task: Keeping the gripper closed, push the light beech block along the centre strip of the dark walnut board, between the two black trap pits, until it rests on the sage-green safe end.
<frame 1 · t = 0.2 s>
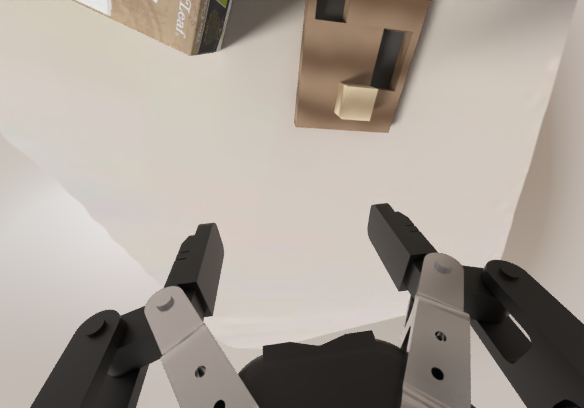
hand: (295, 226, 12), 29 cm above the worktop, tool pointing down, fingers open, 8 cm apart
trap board: (359, 22, 31), on the worktop
block: (350, 98, 34), point 2 cm above the worktop, touching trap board
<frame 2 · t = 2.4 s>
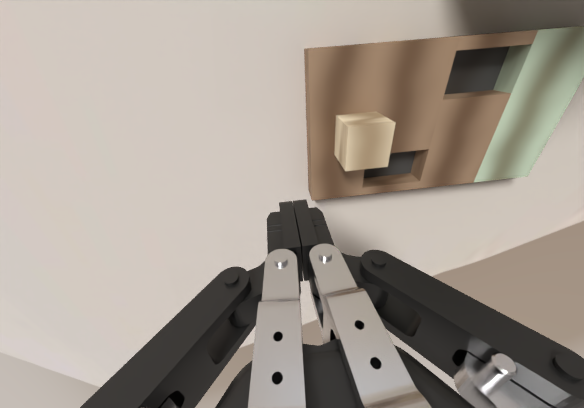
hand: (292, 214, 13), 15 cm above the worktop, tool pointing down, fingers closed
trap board: (426, 119, 26), on the worktop
block: (354, 134, 24), point 2 cm above the worktop, touching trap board
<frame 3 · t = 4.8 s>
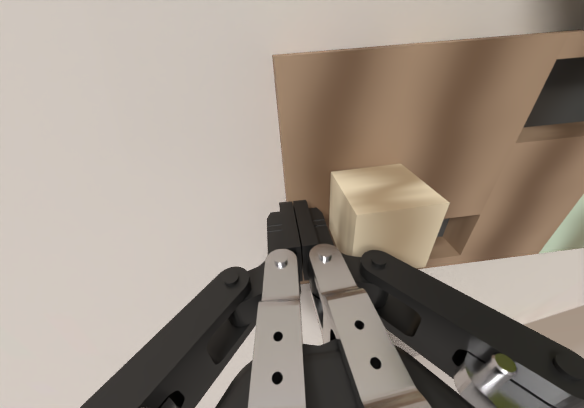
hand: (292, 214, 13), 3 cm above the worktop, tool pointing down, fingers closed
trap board: (473, 164, 17), on the worktop
block: (362, 197, 14), point 3 cm above the worktop, touching gripper, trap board
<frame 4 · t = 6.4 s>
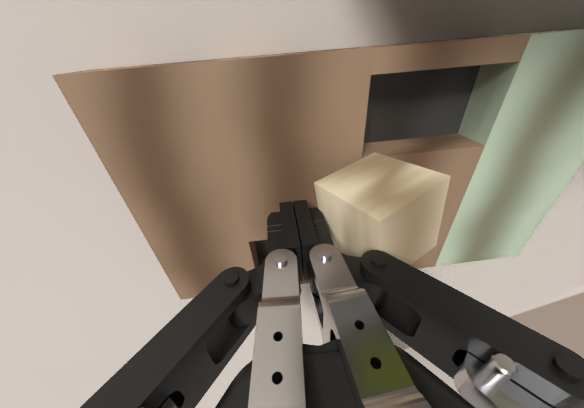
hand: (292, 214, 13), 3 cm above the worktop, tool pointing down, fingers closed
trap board: (352, 177, 16), on the worktop
block: (348, 198, 13), point 3 cm above the worktop, tilted 25°, touching gripper, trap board
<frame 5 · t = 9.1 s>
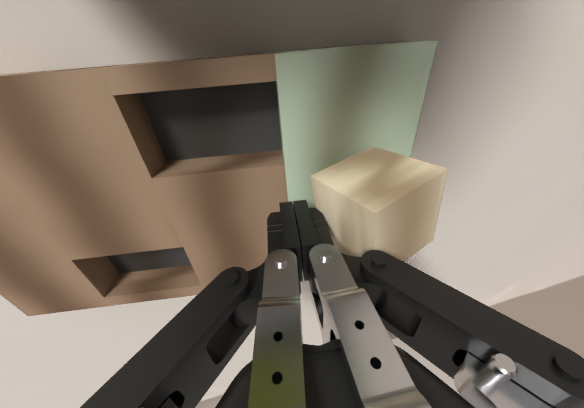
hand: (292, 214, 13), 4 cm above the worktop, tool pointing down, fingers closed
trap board: (189, 193, 16), on the worktop
block: (345, 192, 13), point 3 cm above the worktop, tilted 25°, touching gripper, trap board
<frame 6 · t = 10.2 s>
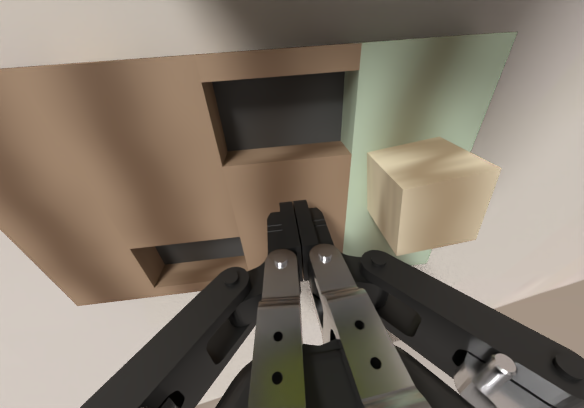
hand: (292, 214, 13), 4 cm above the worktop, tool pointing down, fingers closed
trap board: (243, 183, 16), on the worktop
block: (400, 176, 14), point 2 cm above the worktop, touching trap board
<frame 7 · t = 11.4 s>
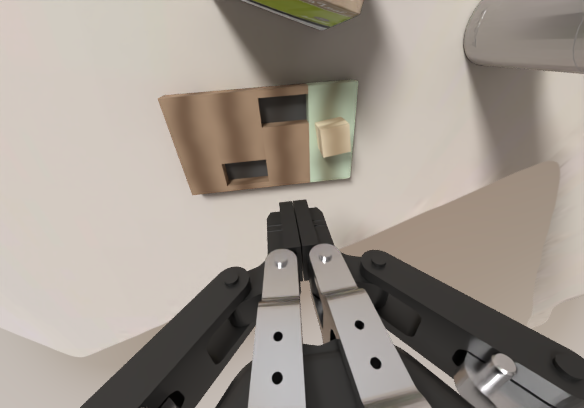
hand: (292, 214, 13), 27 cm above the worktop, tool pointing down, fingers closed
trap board: (266, 138, 38), on the worktop
block: (329, 132, 36), point 2 cm above the worktop, touching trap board
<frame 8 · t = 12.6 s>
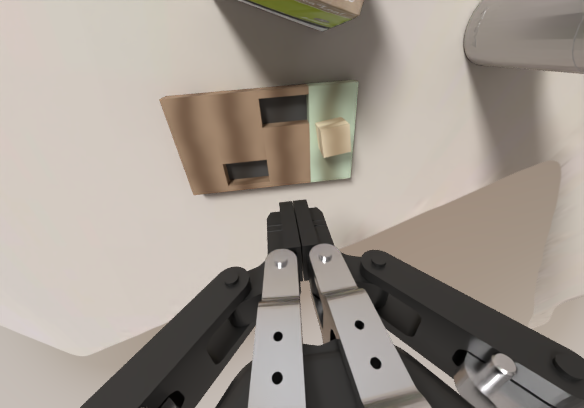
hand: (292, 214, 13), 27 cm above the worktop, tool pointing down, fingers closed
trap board: (267, 138, 38), on the worktop
block: (329, 132, 36), point 2 cm above the worktop, touching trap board
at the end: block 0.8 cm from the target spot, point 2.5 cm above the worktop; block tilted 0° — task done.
